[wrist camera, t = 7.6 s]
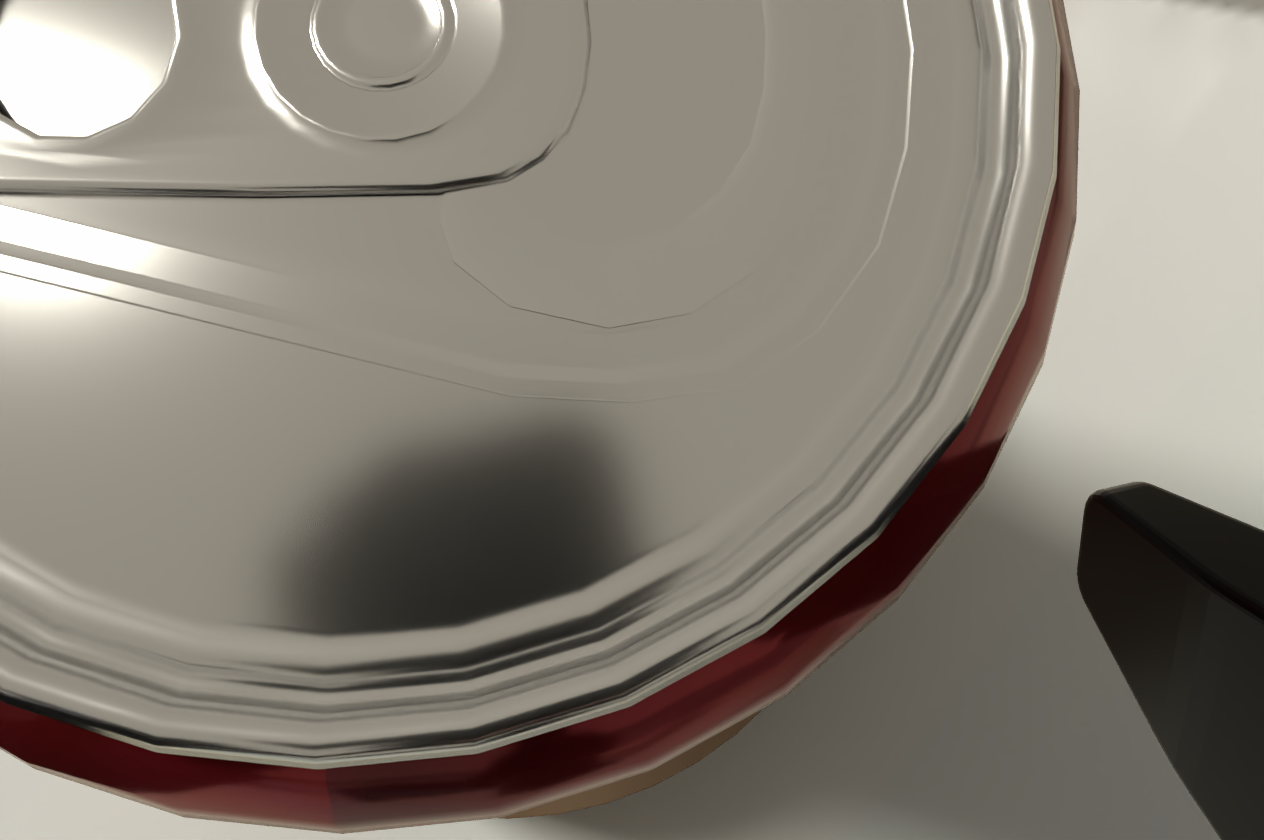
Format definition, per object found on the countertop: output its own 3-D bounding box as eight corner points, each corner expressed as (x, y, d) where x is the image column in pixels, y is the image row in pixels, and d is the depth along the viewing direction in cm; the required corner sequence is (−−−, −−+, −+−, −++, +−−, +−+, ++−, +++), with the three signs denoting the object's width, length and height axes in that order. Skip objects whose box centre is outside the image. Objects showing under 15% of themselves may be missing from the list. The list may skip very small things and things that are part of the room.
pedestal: (906, 313, 21) (962, 257, 18) (695, 892, 19) (717, 942, 16) (370, 101, 21) (334, 9, 18) (102, 643, 19) (9, 644, 16)
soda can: (748, 233, 18) (1084, -578, 6) (755, 702, 16) (1213, 863, 4) (288, 222, 17) (-324, -657, 6) (253, 699, 16) (-665, 864, 4)
